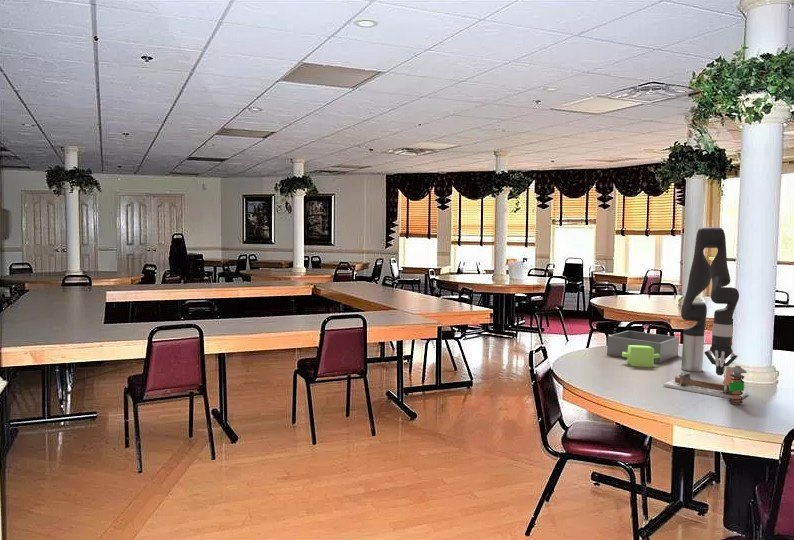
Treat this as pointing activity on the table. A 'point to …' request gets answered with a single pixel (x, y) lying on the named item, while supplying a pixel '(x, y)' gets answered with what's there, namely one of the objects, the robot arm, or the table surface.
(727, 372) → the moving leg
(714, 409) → the table surface
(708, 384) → the beam
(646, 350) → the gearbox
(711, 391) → the hole plate
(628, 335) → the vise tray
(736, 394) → the shock absorber
